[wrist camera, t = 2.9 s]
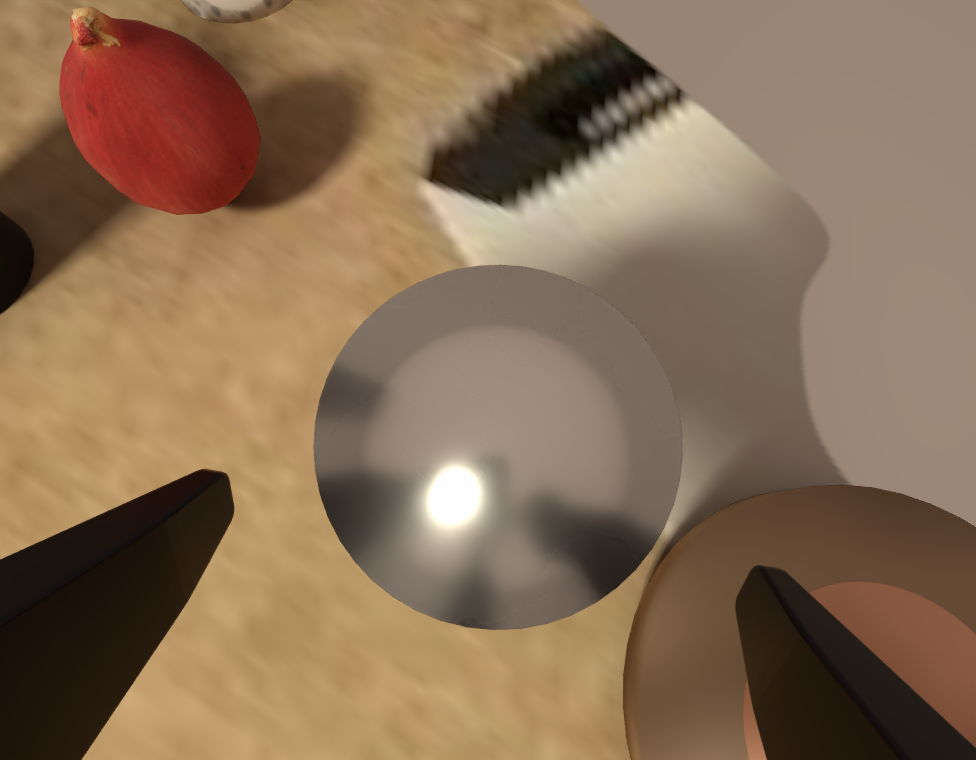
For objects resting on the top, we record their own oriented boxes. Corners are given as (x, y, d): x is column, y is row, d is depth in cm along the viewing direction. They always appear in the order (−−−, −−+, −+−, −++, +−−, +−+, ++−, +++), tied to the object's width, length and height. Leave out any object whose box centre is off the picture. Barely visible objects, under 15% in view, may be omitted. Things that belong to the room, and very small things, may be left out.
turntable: (1101, 982, 13) (1255, 1095, 11) (626, 964, 14) (660, 1071, 11) (974, 497, 17) (1064, 490, 15) (605, 487, 17) (627, 479, 15)
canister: (586, 583, 17) (716, 651, 7) (397, 577, 17) (272, 638, 7) (580, 400, 18) (676, 259, 9) (411, 396, 19) (326, 251, 9)
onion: (128, 198, 21) (-75, 11, 14) (233, 120, 22) (101, -92, 15) (212, 279, 20) (42, 124, 12) (318, 192, 21) (222, 1, 14)
